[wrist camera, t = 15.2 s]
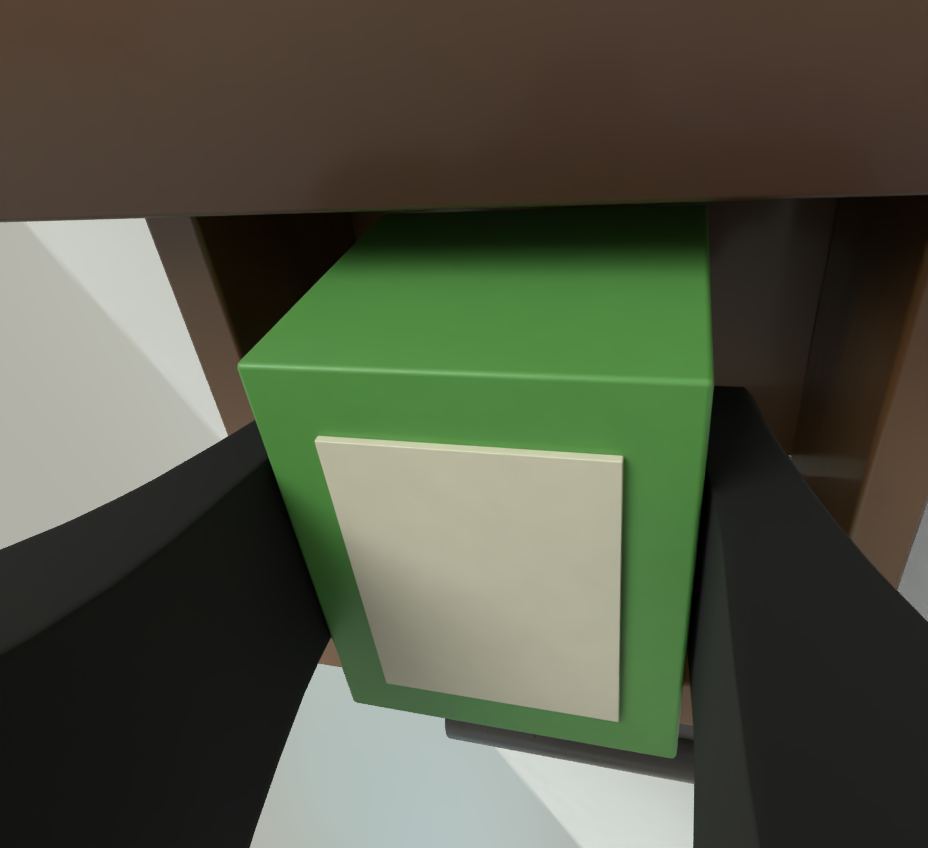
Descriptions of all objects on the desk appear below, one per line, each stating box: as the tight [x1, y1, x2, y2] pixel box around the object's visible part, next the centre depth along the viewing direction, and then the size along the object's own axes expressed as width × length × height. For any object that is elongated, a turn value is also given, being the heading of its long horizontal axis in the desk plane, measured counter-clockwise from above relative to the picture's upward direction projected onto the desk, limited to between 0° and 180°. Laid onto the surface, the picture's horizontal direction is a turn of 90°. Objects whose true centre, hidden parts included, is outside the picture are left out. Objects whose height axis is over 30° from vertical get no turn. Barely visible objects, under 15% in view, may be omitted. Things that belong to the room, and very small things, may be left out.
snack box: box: [237, 205, 714, 758], centre depth 9 cm, size 4×6×4 cm
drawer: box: [145, 195, 928, 784], centre depth 13 cm, size 18×11×6 cm, turn 6°
